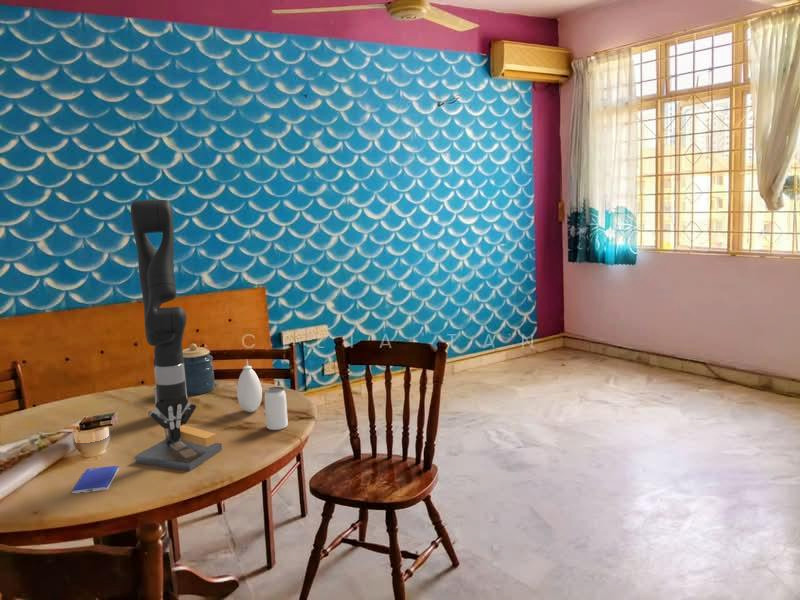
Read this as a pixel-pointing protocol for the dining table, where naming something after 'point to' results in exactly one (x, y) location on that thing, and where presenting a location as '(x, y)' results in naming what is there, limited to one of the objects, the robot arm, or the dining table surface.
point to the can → (276, 408)
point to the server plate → (177, 454)
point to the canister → (198, 370)
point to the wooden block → (195, 436)
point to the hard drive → (96, 479)
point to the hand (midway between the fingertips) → (175, 440)
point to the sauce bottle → (249, 389)
